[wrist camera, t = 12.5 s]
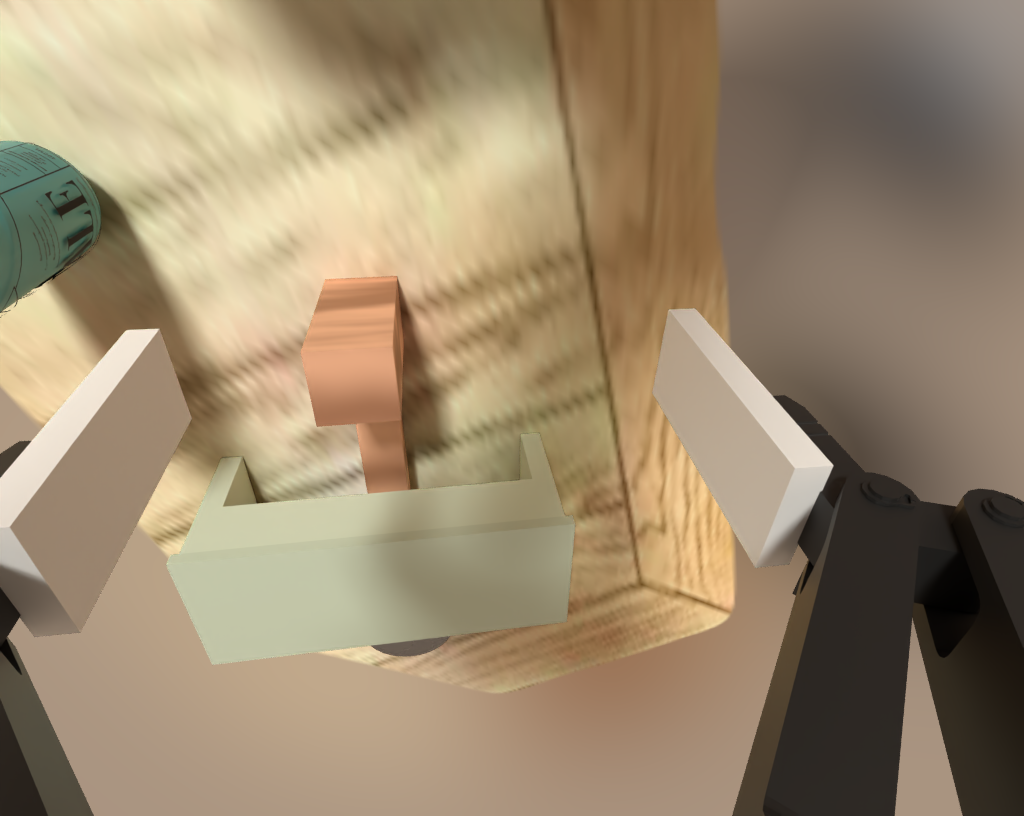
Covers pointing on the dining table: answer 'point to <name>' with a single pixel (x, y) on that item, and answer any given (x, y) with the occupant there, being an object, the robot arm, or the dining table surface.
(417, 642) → the puck
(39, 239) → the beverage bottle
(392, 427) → the paddle
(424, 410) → the dining table surface
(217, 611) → the shelf
